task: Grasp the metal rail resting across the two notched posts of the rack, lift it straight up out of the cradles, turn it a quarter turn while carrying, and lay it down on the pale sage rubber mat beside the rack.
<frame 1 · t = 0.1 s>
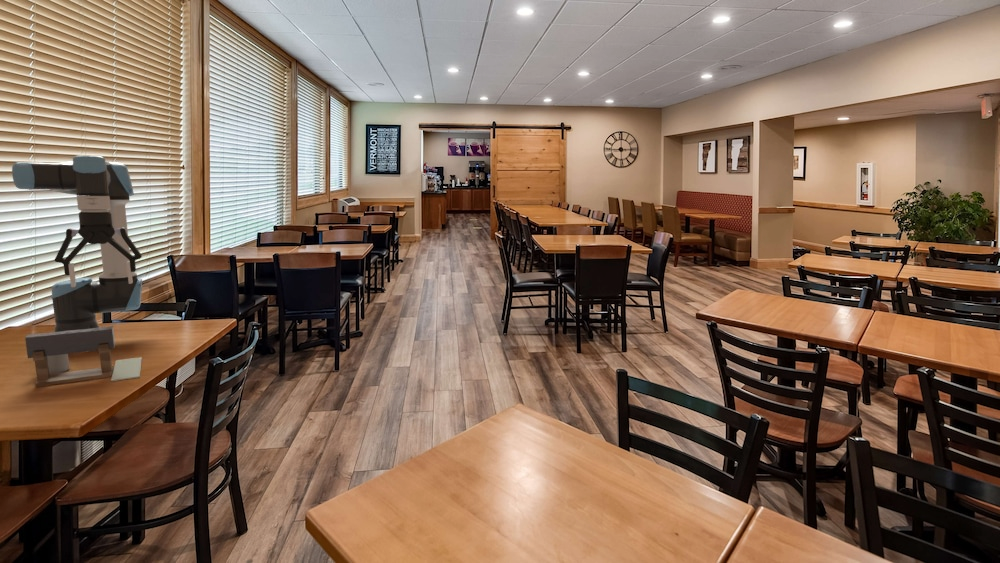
hand: (102, 284, 159), 28 cm above the table, fingers open, 13 cm apart
rail: (73, 351, 161), point 8 cm above the table, touching stand
mat: (127, 369, 171), on the table
stand: (76, 377, 162), on the table
cup: (53, 370, 169), on the table
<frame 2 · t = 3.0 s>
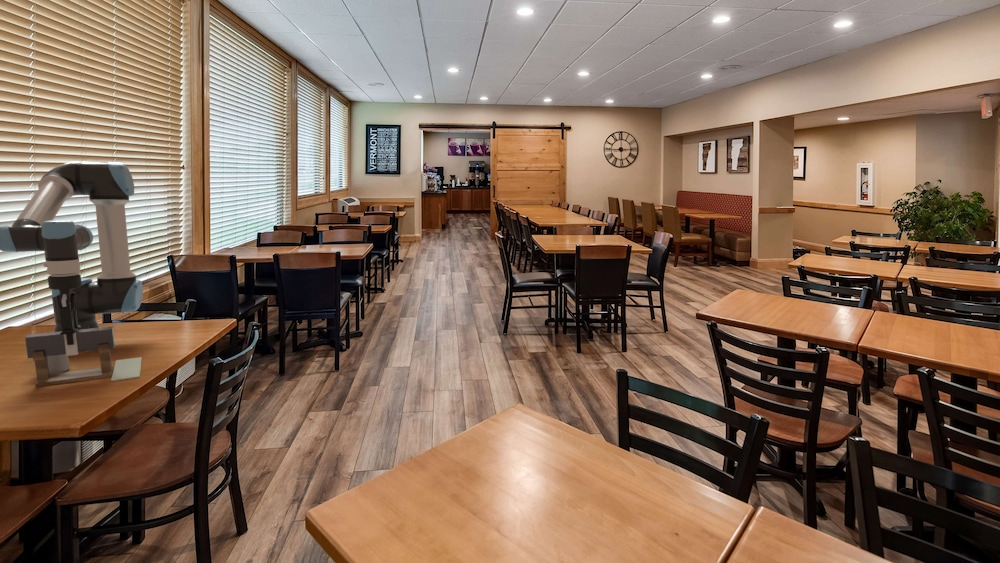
hand: (73, 352, 161), 8 cm above the table, fingers closed on rail, 4 cm apart
rail: (73, 351, 161), point 8 cm above the table, touching gripper, stand
everything else where it was.
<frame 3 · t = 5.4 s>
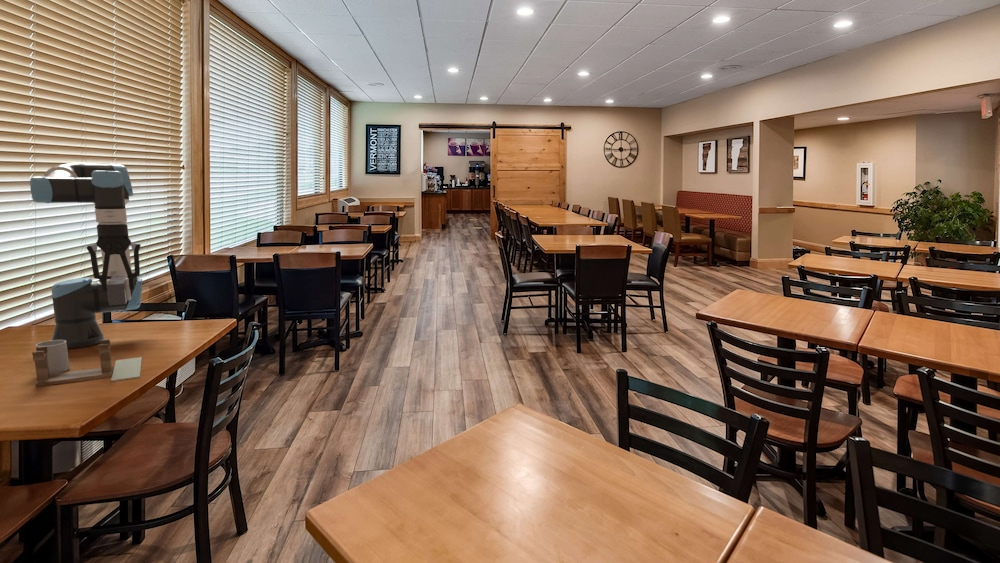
hand: (119, 300, 167), 22 cm above the table, fingers closed on rail, 4 cm apart
rail: (119, 299, 167), point 22 cm above the table, touching gripper
everything else where it was.
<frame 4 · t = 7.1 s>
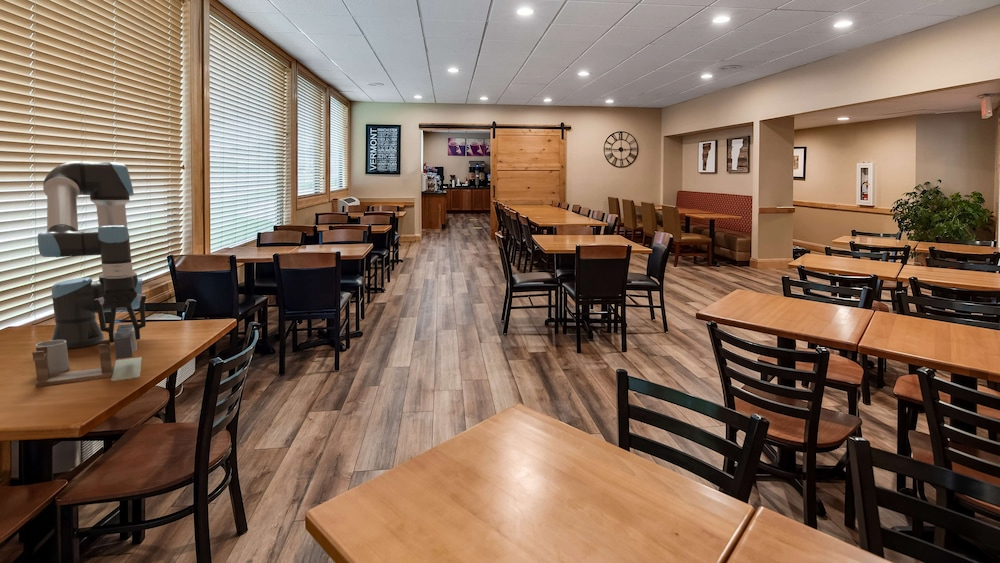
hand: (126, 351, 170), 6 cm above the table, fingers closed on rail, 4 cm apart
rail: (126, 349, 170), point 6 cm above the table, touching gripper
everything else where it was.
when the fingers open (3 cm above the table, at t = 7.9 s): rail drops 3 cm, resting on mat.
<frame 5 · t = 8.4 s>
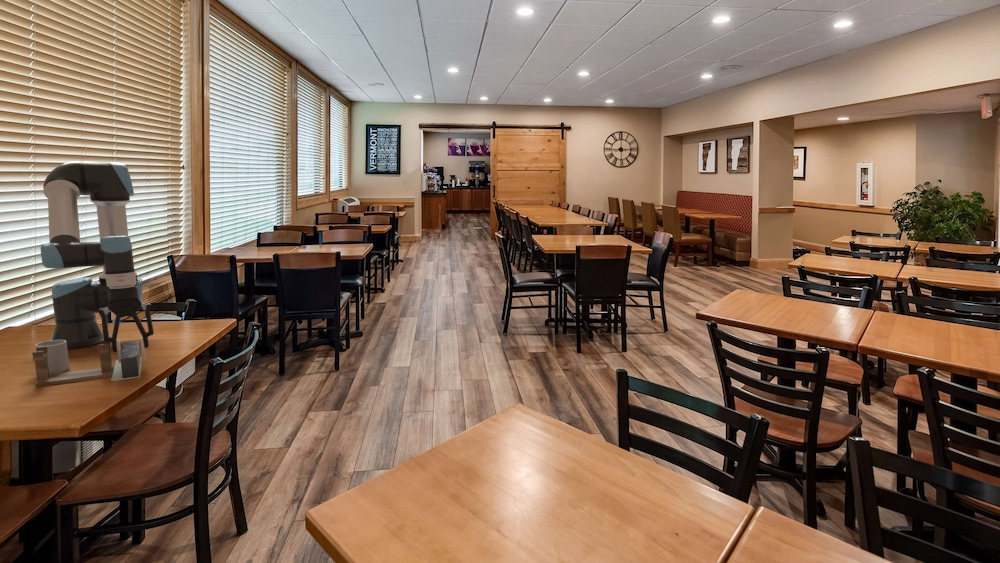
hand: (132, 359, 170), 3 cm above the table, fingers open, 5 cm apart
rail: (132, 368, 170), resting on mat
everything else where it was.
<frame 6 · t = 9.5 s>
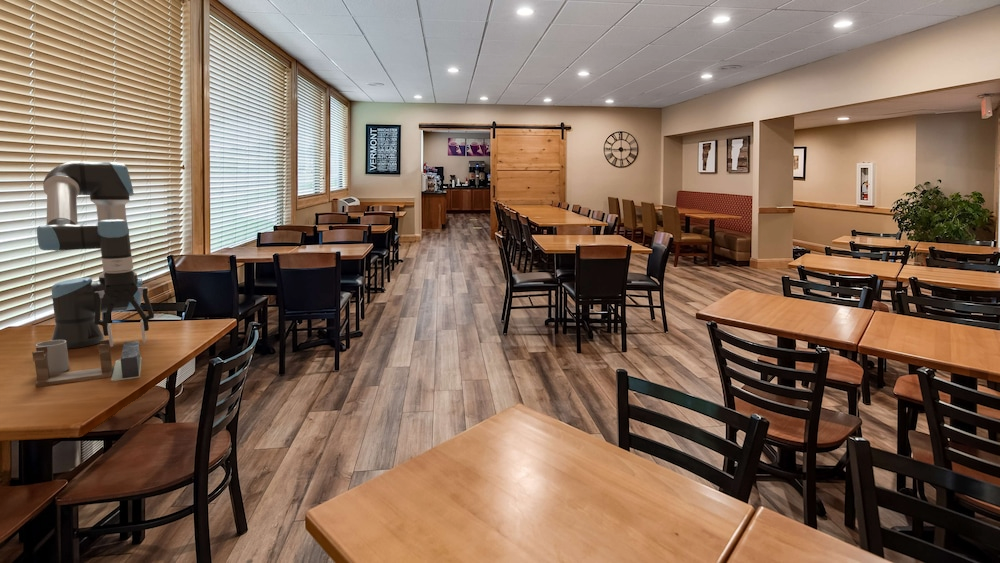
hand: (128, 343, 170), 8 cm above the table, fingers open, 8 cm apart
nothing on the table moved.
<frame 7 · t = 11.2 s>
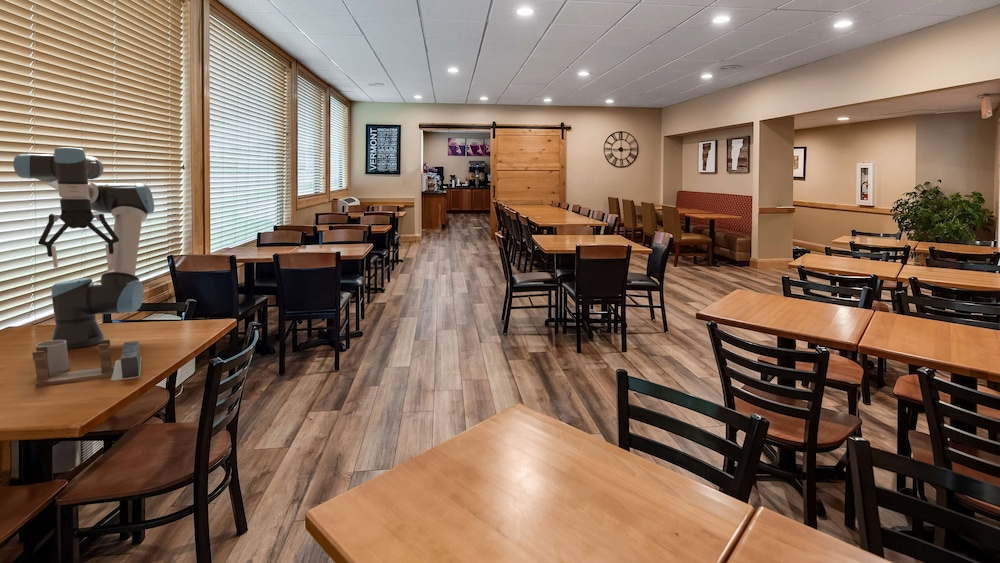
hand: (83, 265, 175), 31 cm above the table, fingers open, 13 cm apart
nothing on the table moved.
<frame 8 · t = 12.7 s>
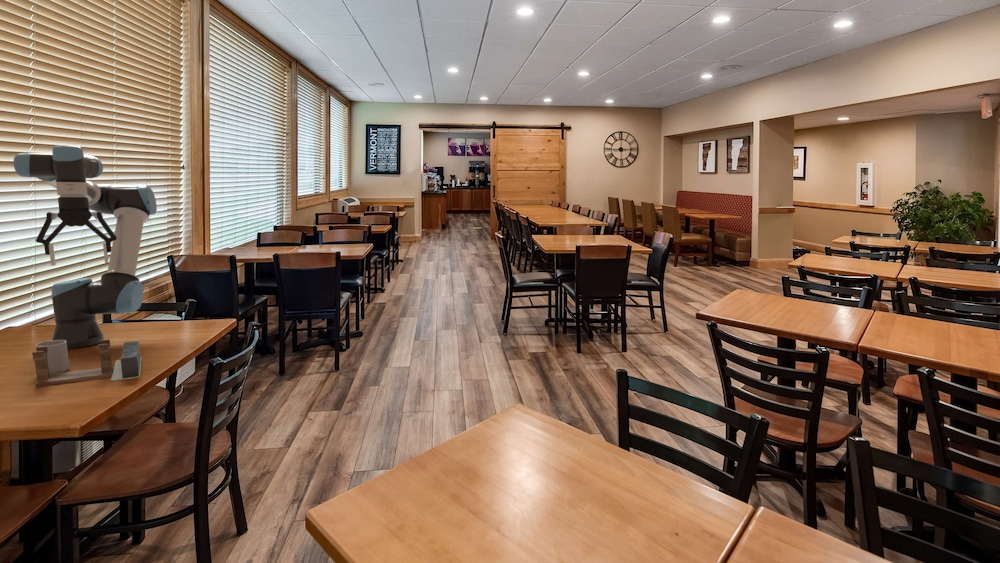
hand: (80, 263, 174), 32 cm above the table, fingers open, 13 cm apart
nothing on the table moved.
at the end: rail inside the target area on the mat (1.5 cm from its centre), point 0.4 cm above the mat's base; rail tilted 0°; rail touching mat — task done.
